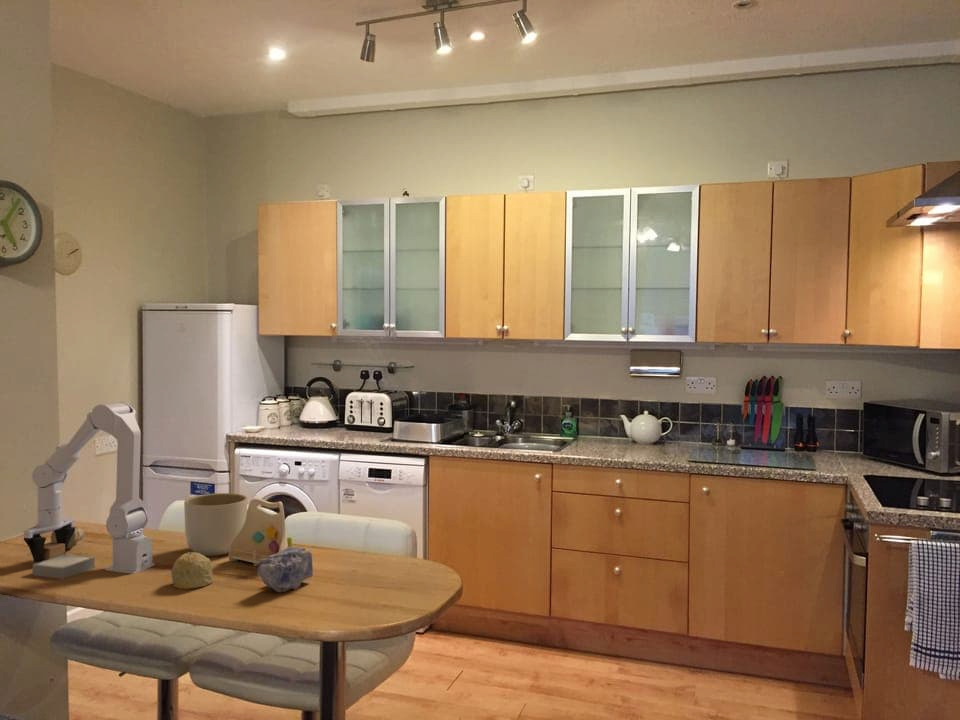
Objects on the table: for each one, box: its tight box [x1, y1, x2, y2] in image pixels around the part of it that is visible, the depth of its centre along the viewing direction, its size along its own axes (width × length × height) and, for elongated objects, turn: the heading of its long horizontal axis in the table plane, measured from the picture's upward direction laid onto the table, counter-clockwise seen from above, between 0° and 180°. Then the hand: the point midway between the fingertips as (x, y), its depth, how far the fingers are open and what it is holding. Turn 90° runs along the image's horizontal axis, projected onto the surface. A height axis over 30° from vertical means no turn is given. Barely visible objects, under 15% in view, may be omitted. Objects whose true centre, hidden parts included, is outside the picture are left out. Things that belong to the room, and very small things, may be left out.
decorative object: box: [170, 551, 214, 590], centre depth 185 cm, size 9×10×10 cm
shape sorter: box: [228, 497, 293, 567], centre depth 204 cm, size 20×10×18 cm, turn 59°
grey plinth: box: [31, 553, 96, 580], centre depth 195 cm, size 10×10×3 cm
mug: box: [50, 525, 85, 550], centre depth 217 cm, size 8×10×10 cm
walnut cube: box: [34, 541, 65, 564], centre depth 203 cm, size 5×5×5 cm
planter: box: [183, 492, 248, 557], centre depth 215 cm, size 17×17×15 cm
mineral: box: [256, 546, 314, 593], centre depth 182 cm, size 14×10×10 cm, turn 157°
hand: (50, 558), depth 203 cm, fingers open, 7 cm apart
